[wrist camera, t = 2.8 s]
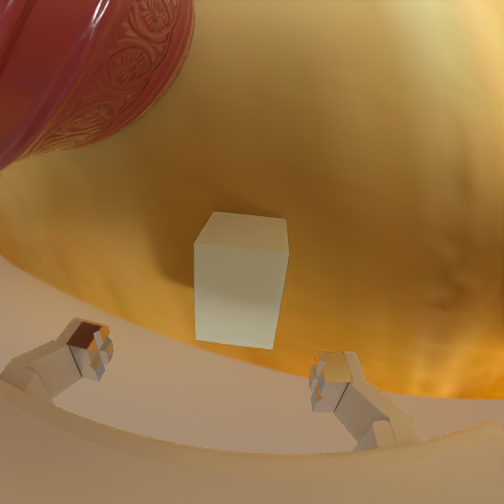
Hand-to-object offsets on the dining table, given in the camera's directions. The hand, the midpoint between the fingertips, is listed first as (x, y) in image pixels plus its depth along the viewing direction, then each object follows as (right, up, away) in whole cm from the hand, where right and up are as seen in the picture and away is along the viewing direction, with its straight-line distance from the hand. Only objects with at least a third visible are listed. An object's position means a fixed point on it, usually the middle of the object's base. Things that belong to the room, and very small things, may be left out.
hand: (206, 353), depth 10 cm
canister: (-7, +16, +2) cm, 18 cm away
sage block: (+1, +3, +7) cm, 8 cm away
